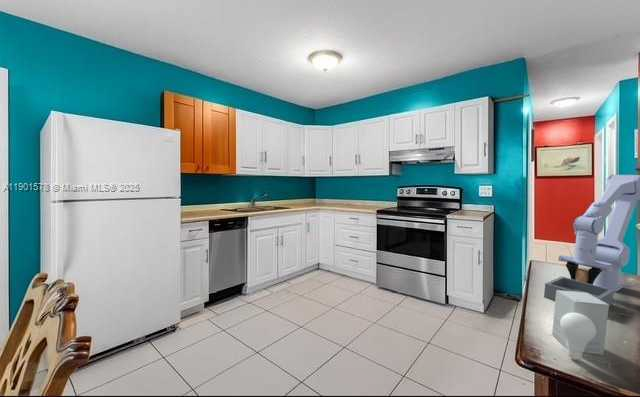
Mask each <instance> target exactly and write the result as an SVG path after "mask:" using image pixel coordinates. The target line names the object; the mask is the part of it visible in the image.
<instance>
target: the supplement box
mask: <svg viewBox="0 0 640 397" xmlns="http://www.w3.org/2000/svg"><path fill="white" fill-rule="evenodd" d="M609 308H610V307H609V305H608V304H607V303H605V302H603V301H601V300H599V299H597V298H596V297H594V296H592V295H590V294H589V293H585V292H574V291H560V290H556V299H555V301H554V310H553V311H554V312H553V322H552V331H551V336H553V337H554V338H555V339H556V340H557V341H558V342H560V344H562V346H564V348H566V349H567V345H566V337H565V334H564V333H563V331H562V328H561V325H560V320H561V318H562V317H563V316H564V315H565V314H567V313H580V314H582V315H584V316H586V317H588V318H589V319H590V320H591V321H592V322H593V323H594V325H595V327H596V335H595V337H594V338H593V339H592V340H591V341H589V342H588V343H587V345H586V347H585V350H584V352H583V354H592V355H599V356H600V355H604V352H605V343H606V335H607V325H608V317H609V316H608V314H609Z"/></svg>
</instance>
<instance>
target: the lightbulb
mask: <svg viewBox="0 0 640 397" xmlns="http://www.w3.org/2000/svg"><path fill="white" fill-rule="evenodd" d="M560 325H561V328H562V331H563V333H564V334H565V337H566V345H567V348H566V350H567V352H566V353H567V356H568V357H569V358H571V359H572V360H573V361H579V360H582V358H583V354H584V353H583V352H584V350H585V347H586V345H587V343H588V342H589V341H591V340H592V339H593V338H594V337H595V335H596V327H595V325H594V323H593V322H592V321H591V320H590V319H589V318H588V317H586V316H584V315H582V314H580V313H567V314H565V315H564V316H563V317H562V318H561V320H560Z"/></svg>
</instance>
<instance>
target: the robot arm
mask: <svg viewBox="0 0 640 397" xmlns="http://www.w3.org/2000/svg"><path fill="white" fill-rule="evenodd" d="M604 184H605V185H604V187H605V190H604V192H603V193H602V195H601V197H600V198H599V200H598V201H594V202H592V203H591V204H590V205H589V207H588V208H587V210H586V211H585V213H583V215H580V216H578V217H576V218H575V219H574V221H573V222H574V223H573V229H574V235H575V236H576V238H575V247H574V255H573V256H567V255H561V254H560V255H558V261H559V262H564V263H566V264H565V266H566V268H567V271H568V273H569V276H570V279H573V280H575V273H576V269H577V268H579V266H582V267H588V270H589V281H588V283H589V284H593V285H596V286H600V287H604V288H608V289H612V290H614V293H616V292H618V291H619V290H621V289H623V288H624V285H621V277H622V269H621V268H623V267H625V266H627V265H628V263H629V261H630V253H631V249H630V247H629V246H627V244H626V243H625V242H623V239H624V238H625V235H626V233H627V229H628V227H629V225H630V224H629V223H630V221H631V219H632V216H633V212H634V210H635V207H636V204H637V201H640V174H609V175H608V176H607V177H606V179H605V183H604ZM616 201H617V202H616ZM614 203H616V204H615V206H614V209H613V208H612V205H613V204H614ZM612 211H613V212H612ZM611 212H612V215H611V217H610V220H609V223H608V226H607V228H606V232H605V234H604V237H603V238H599V235H600V234H601V232H603V230H604V227H605V224H606V219H607V218H608V216H610V214H611Z"/></svg>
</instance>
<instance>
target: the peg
mask: <svg viewBox="0 0 640 397" xmlns="http://www.w3.org/2000/svg"><path fill="white" fill-rule="evenodd" d="M575 280H577V281H581V282H585V283H588V281H589V269H586V268H585V269H584V268H579V267H578V268H577V269H576V273H575Z"/></svg>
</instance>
